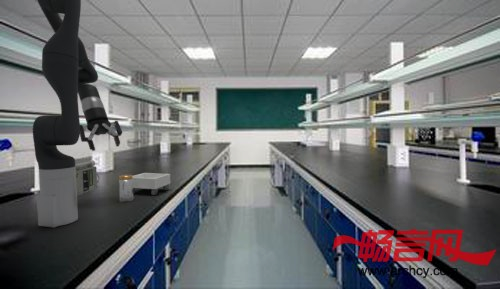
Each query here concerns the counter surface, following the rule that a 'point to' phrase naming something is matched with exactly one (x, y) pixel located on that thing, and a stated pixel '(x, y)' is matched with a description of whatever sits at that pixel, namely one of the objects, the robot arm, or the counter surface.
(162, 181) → the parts cart
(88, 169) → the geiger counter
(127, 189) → the canister
